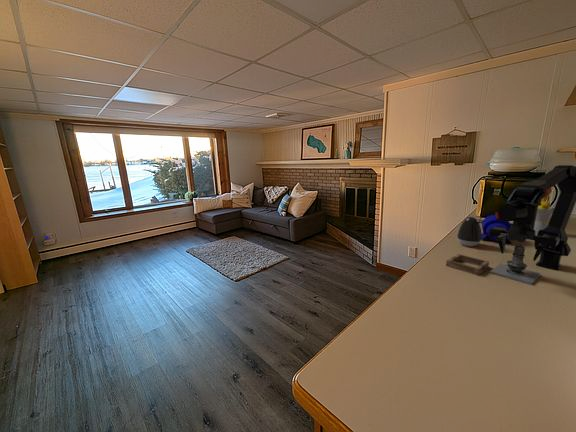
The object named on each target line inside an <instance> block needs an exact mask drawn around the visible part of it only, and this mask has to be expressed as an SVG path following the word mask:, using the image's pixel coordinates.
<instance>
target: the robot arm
mask: <svg viewBox="0 0 576 432" xmlns="http://www.w3.org/2000/svg"><path fill="white" fill-rule="evenodd" d="M547 172H548V173H546V172H545V173H544V174H543V175H542V176H540V177H538V178H536V179H534V180H530V181H525V182H522V183H519V184H518V185H517V186H516V187H515V188H514V189H513V191H512V193H511V194H510V196H509V197H508V199H507V201H506V202H505V205H503V206H501V207H500V208H499V209H498V211H497V212H498V216H499V218H500V219H501V220H503V221H509V222H512V224H511V227H510V229H509V230H508V231H506V228H501V227H493V228H491V229H489V233H488V235H490V236H492V238H495V239H496V240H497V241H496V242H497V243H498V246H499V251H500V253H501V254H502V255H503V254H505V253H504V252H505V249H506V241H505V240H506V236H508V237H507V239H508V240H510V241H515V242H516V241H517V242H518V243H524V242H526V240H530V241H534V249H535V250H536V251H535V252H534V256H533V260H532V261H533V262H535V261H536V260H537V259H538V257H539V260H538V261H537V262H536V263H535V265H536V266H537V267H538V266H539V267H542V268H548V269H551V270H556V271H559V270H560V269H561V268H562V266H563V264H560V263H561V259H562V257H569V255H570V253H571V251H572V249H571V247H570V245H569V244H568V239H569V237H568V234H567V233H566V228H567V224H568V223H569V220H570V218H571V215H572V212H573V210H574V207H575V205H576V165H571V164H565V165H564V164H563V165H561V164H559V165H556V166H554V167H553V168H552V169H551V170H550V171H547ZM556 185H557V187H558V189H559V195H558V198H557V200H556V203H555V206H554V207H553V208H554V211H553V213H552V214H551V215H550V217H549V218H550V219H549V221H548V224H547V227H546V228H544V229H543V230H539V231H538V234H537V235H535V230H534V225H535V220H536V215H537V210H538V206H541V205H542V204H541V203H540V202H541V200H542V199H543V198H544V197H545V196H546V195H547V190H548V189H550V188H551V189H552V188H553V187H555V186H556Z"/></svg>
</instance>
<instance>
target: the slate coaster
mask: <svg viewBox="0 0 576 432" xmlns="http://www.w3.org/2000/svg"><path fill="white" fill-rule="evenodd" d="M507 269H510V268H509V267H508V265H507V264H505V263H502V262H501V263H499V264H498V265H496V266H495V267H493V268H492V269H491V270H490V272H489V274H492V275H496V276H499V277H503V278H506V279H509V280H512V281H513V280H514V281H516V282H520V283H523V284H527V285H530V286H532V285H533V284H534V283H535V282H536V280H537V279H539V277H540V276H541V272H537V271H533V270H531V269H530V270H529V269H526V268H525V270H523V271H522V272H524V275H514V274H511V273H509V272H507V271H506V270H507Z"/></svg>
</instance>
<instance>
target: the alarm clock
mask: <svg viewBox="0 0 576 432" xmlns="http://www.w3.org/2000/svg"><path fill="white" fill-rule="evenodd" d="M483 221H484V222H482V223H481V230H482V231H483V232H481V235H482V238H481V242H482V241H484V242H485V241H488V240H489V241H490V240H491V241H495V242H497V240H496V239H495V238H492V236H490V235H488V233H489V229H491V228H493V227H501V228H506V231H508V230H509V229H510V227H511V226H512V224H511V223H510V222H511V221H503V220H501V219H500V218H499V216H498V211H496V212H495V213H494V214H492V215H488V216H486V217H485V218H484V219H483ZM507 237H508V236H506V240H505V243H508V244H510V245H512V242H511V240H508V239H507Z"/></svg>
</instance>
